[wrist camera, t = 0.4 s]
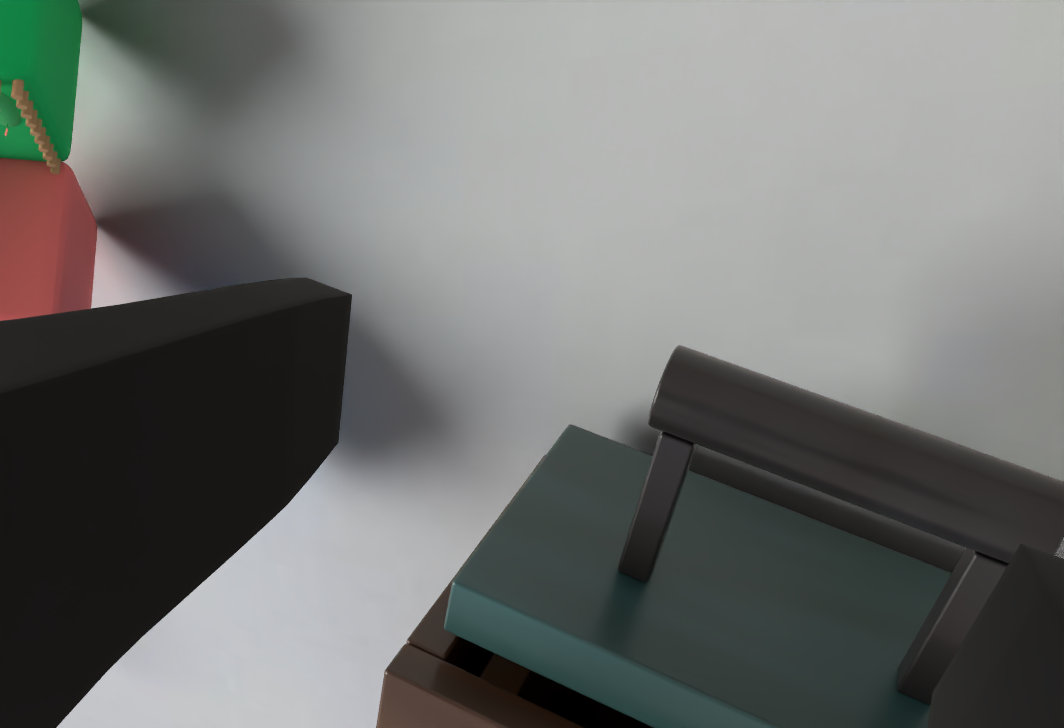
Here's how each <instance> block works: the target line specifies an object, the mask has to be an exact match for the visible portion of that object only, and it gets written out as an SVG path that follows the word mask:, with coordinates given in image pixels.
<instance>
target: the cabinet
mask: <svg viewBox="0 0 1064 728" xmlns="http://www.w3.org/2000/svg"><path fill="white" fill-rule="evenodd" d="M545 456H546V455H545ZM545 456H544V457H543V458H542V460H543V459H544V458H545ZM542 460H541V461H540V462H539V464H540V463H541V462H542ZM539 464H538V465H537V466H536V468H537V467H538V466H539ZM536 468H535V469H534V470H533V472H534V471H535V470H536ZM533 472H532V473H531V474H530V476H531V475H532V474H533ZM530 476H529V477H528V478H527V480H528V479H529V478H530ZM527 480H526V481H525V482H524V484H525V483H526V482H527ZM524 484H523V485H522V486H521V488H522V487H523V486H524ZM521 488H520V489H519V491H520V490H521ZM519 491H518V492H517V493H516V495H517V494H518V493H519ZM516 495H515V496H514V497H513V499H514V498H515V497H516ZM513 499H512V500H511V501H510V503H511V502H512V501H513ZM510 503H509V504H508V505H507V507H508V506H509V505H510ZM507 507H506V508H505V509H504V511H505V510H506V509H507ZM504 511H503V512H502V513H501V515H502V514H503V513H504ZM501 515H500V516H499V517H498V519H499V518H500V517H501ZM498 519H497V520H496V521H495V523H496V522H497V521H498ZM495 523H494V524H493V525H492V527H491V528H490V529H489V531H488V532H487V533H486V535H485V536H484V537H483V539H482V540H481V542H482V541H483V540H484V538H485V537H486V536H487V534H488V533H489V532H490V530H491V529H492V528H493V526H494V525H495ZM481 542H480V543H479V544H478V546H479V545H480V544H481ZM478 546H477V547H476V548H475V550H476V549H477V548H478ZM475 550H474V551H473V552H472V554H473V553H474V552H475ZM472 554H471V555H470V556H469V558H470V557H471V556H472ZM469 558H468V559H467V560H466V562H465V563H464V564H463V566H462V567H461V568H460V570H459V571H458V572H457V574H456V575H455V576H454V578H453V579H452V580H451V582H450V583H449V584H448V586H447V587H446V588H445V590H444V591H443V592H442V594H441V595H440V597H439V598H438V599H437V601H436V602H435V603H434V605H433V606H432V607H431V609H430V610H429V611H428V613H427V614H426V615H425V617H424V618H423V619H422V621H421V622H420V623H419V625H418V626H417V627H416V629H415V630H414V631H413V633H412V634H411V635H410V637H409V638H408V639H407V644H405V645H404V646H403V647H402V648H401V650H400V651H399V652H398V654H397V655H396V656H395V658H394V659H393V660H392V662H391V663H390V664H389V666H388V667H387V668H386V670H385V673H384V680H383V686H382V693H381V700H380V706H379V713H378V720H377V726H376V728H584V727H582V726H580V725H578V724H576V723H574V722H572V721H569V720H567V719H565V718H563V717H561V716H559V715H557V714H555V713H553V712H551V711H549V710H546V709H544V708H542V707H540V706H538V705H536V704H534V703H532V702H530V701H528V700H526V699H523V698H521V697H519V696H517V695H515V694H513V693H511V692H509V691H507V690H505V689H502V688H500V687H498V686H496V685H494V684H492V683H490V682H488V681H486V680H484V679H482V678H479V676H480V675H481V673H482V671H483V670H484V668H485V666H486V665H487V663H488V662H489V660H490V658H491V657H492V655H493V652H491V651H489V650H487V649H484V648H482V647H480V646H478V645H476V644H474V643H472V642H470V641H467V640H465V639H463V638H461V637H459V636H457V635H455V634H452V633H450V632H448V631H446V630H445V629H444V623H445V617H446V612H447V607H448V602H449V596H450V591H451V586H452V581H453V580H454V579H455V577H456V576H457V575H458V573H459V572H460V571H461V569H462V568H463V567H464V565H465V564H466V563H467V561H468V560H469Z"/></svg>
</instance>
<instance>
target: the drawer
mask: <svg viewBox="0 0 1064 728" xmlns="http://www.w3.org/2000/svg"><path fill="white" fill-rule="evenodd" d="M649 425H650V426H651V427H653V428H656V429H659V430H661V432H660V434H659V437H658V440H657V443H656V446H655V449H654V453H653V456H651V455H649V454H646V453H643V452H641V451H638V450H636V449H633V448H631V447H628V446H626V445H623V444H620V443H618V442H615V441H613V440H610V439H608V438H605V437H603V436H600V435H597V434H595V433H592V432H590V431H587V430H585V429H582V428H579V427H577V426H574V425H568V427H567V428H566V429H565V431H564V432H563V433H562V435H561V436H560V437H559V439H558V440H557V441H556V443H555V444H554V445H553V447H552V448H551V449H550V451H549V452H548V453H547V455H546V456H545V458H544V459H543V460H542V462H541V463H540V464H539V466H538V467H537V468H536V470H535V471H534V472H533V474H532V475H531V476H530V478H529V479H528V480H527V482H526V483H525V484H524V486H523V487H522V488H521V490H520V491H519V493H518V494H517V495H516V497H515V498H514V499H513V501H512V502H511V503H510V505H509V506H508V507H507V509H506V510H505V511H504V513H503V514H502V515H501V517H500V518H499V519H498V521H497V522H496V523H495V525H494V526H493V528H492V529H491V530H490V532H489V533H488V534H487V536H486V537H485V538H484V540H483V541H482V542H481V544H480V545H479V546H478V548H477V549H476V550H475V552H474V553H473V554H472V556H471V557H470V558H469V560H468V561H467V563H466V564H465V565H464V567H463V568H462V569H461V571H460V572H459V573H458V575H457V576H456V577H455V579H454V580H453V581H452V586H451V591H450V596H449V602H448V607H447V612H446V617H445V623H444V629H445V630H446V631H448V632H450V633H452V634H455V635H457V636H459V637H461V638H463V639H465V640H467V641H470V642H472V643H474V644H476V645H478V646H480V647H482V648H484V649H487V650H489V651H491V652H493V655H492V657H491V658H490V660H489V662H488V663H487V665H486V666H485V668H484V670H483V671H482V673H481V675H480V676H479V678H482V679H484V680H486V681H488V682H490V683H492V684H494V685H496V686H498V687H500V688H502V689H505V690H507V691H509V692H511V693H513V694H515V695H517V696H519V697H521V698H523V699H526V700H528V701H530V702H532V703H534V704H536V705H538V706H540V707H542V708H544V709H546V710H549V711H551V712H553V713H555V714H557V715H559V716H561V717H563V718H565V719H567V720H569V721H572V722H574V723H576V724H578V725H580V726H582V727H584V728H927V726H928V719H929V712H930V706H931V699H932V693H933V691H934V689H935V687H936V686H937V684H938V682H939V681H940V679H941V677H942V676H943V674H944V672H945V670H946V669H947V667H948V665H949V664H950V662H951V660H952V659H953V657H954V655H955V654H956V652H957V650H958V649H959V647H960V645H961V644H962V642H963V640H964V639H965V637H966V635H967V633H968V632H969V630H970V628H971V627H972V625H973V623H974V622H975V620H976V618H977V617H978V615H979V613H980V612H981V610H982V608H983V607H984V605H985V603H986V601H987V600H988V598H989V596H990V595H991V593H992V591H993V590H994V588H995V586H996V585H997V583H998V581H999V580H1000V578H1001V576H1002V575H1003V573H1004V571H1005V569H1006V568H1007V566H1008V564H1009V563H1010V561H1011V559H1012V558H1013V556H1014V554H1015V553H1016V551H1017V549H1018V548H1019V546H1020V544H1024V545H1027V546H1029V547H1032V548H1035V549H1037V550H1040V551H1043V552H1045V553H1048V554H1051V555H1053V556H1054V555H1055V553H1056V552H1057V550H1058V548H1059V546H1060V544H1061V542H1062V540H1063V538H1064V482H1063V481H1060V480H1057V479H1054V478H1052V477H1049V476H1046V475H1043V474H1040V473H1038V472H1035V471H1032V470H1029V469H1026V468H1024V467H1021V466H1018V465H1015V464H1012V463H1009V462H1007V461H1004V460H1001V459H998V458H995V457H993V456H990V455H987V454H984V453H981V452H979V451H976V450H973V449H970V448H967V447H965V446H962V445H959V444H956V443H953V442H951V441H948V440H945V439H942V438H939V437H937V436H934V435H931V434H928V433H925V432H923V431H920V430H917V429H914V428H911V427H909V426H906V425H903V424H900V423H897V422H894V421H892V420H889V419H886V418H883V417H880V416H878V415H875V414H872V413H869V412H866V411H864V410H861V409H858V408H855V407H852V406H850V405H847V404H844V403H841V402H838V401H836V400H833V399H830V398H827V397H824V396H822V395H819V394H816V393H813V392H810V391H808V390H805V389H802V388H799V387H796V386H793V385H791V384H788V383H785V382H782V381H779V380H777V379H774V378H771V377H768V376H765V375H763V374H760V373H757V372H754V371H751V370H749V369H746V368H743V367H740V366H737V365H735V364H732V363H729V362H726V361H723V360H721V359H718V358H715V357H712V356H709V355H707V354H704V353H701V352H698V351H695V350H693V349H690V348H687V347H684V346H681V345H679V346H677V347H676V348H675V350H674V351H673V353H672V355H671V357H670V359H669V361H668V363H667V365H666V367H665V370H664V372H663V375H662V377H661V380H660V382H659V385H658V388H657V391H656V393H655V396H654V399H653V403H652V406H651V410H650V414H649ZM697 444H698V445H700V446H703V447H706V448H708V449H711V450H713V451H716V452H719V453H721V454H724V455H727V456H729V457H732V458H734V459H737V460H740V461H742V462H745V463H747V464H750V465H753V466H755V467H758V468H761V469H763V470H766V471H768V472H771V473H774V474H776V475H779V476H781V477H784V478H787V479H789V480H792V481H794V482H797V483H800V484H802V485H805V486H808V487H810V488H813V489H815V490H818V491H821V492H823V493H826V494H828V495H831V496H834V497H836V498H839V499H842V500H844V501H847V502H849V503H852V504H855V505H857V506H860V507H862V508H865V509H868V510H870V511H873V512H875V513H878V514H881V515H883V516H886V517H889V518H891V519H894V520H896V521H899V522H902V523H904V524H907V525H909V526H912V527H915V528H917V529H920V530H923V531H925V532H928V533H930V534H933V535H936V536H938V537H941V538H943V539H946V540H949V541H951V542H954V543H956V544H959V545H962V546H964V547H966V549H965V550H964V552H963V554H962V556H961V557H960V559H959V561H958V563H957V564H956V566H955V568H954V570H953V572H952V573H950V572H948V571H945V570H943V569H940V568H938V567H935V566H932V565H930V564H927V563H925V562H922V561H920V560H917V559H915V558H912V557H909V556H907V555H904V554H902V553H899V552H897V551H894V550H892V549H889V548H886V547H884V546H881V545H879V544H876V543H874V542H871V541H869V540H866V539H863V538H861V537H858V536H856V535H853V534H851V533H848V532H845V531H843V530H840V529H838V528H835V527H833V526H830V525H828V524H825V523H822V522H820V521H817V520H815V519H812V518H810V517H807V516H805V515H802V514H799V513H797V512H794V511H792V510H789V509H787V508H784V507H782V506H779V505H776V504H774V503H771V502H769V501H766V500H764V499H761V498H759V497H756V496H753V495H751V494H748V493H746V492H743V491H741V490H738V489H736V488H733V487H730V486H728V485H725V484H723V483H720V482H718V481H715V480H712V479H710V478H707V477H705V476H702V475H700V474H697V473H695V472H692V471H689V467H690V464H691V461H692V458H693V455H694V452H695V449H696V446H697Z"/></svg>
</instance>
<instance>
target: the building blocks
mask: <svg viewBox="0 0 1064 728" xmlns="http://www.w3.org/2000/svg"><path fill="white" fill-rule="evenodd" d="M81 32H82V13H81V9H80V5H79V2H78V0H0V321H3V320H12V319H20V318H27V317H34V316H41V315H49V314H56V313H63V312H70V311H77V310H85V309H91V302H92V289H93V277H94V265H95V253H96V241H97V225H96V221H95V218H94V216H93V214H92V212H91V209H90V207H89V205H88V203H87V201H86V199H85V196H84V194H83V192H82V190H81V188H80V186H79V183H78V181H77V179H76V177H75V175H74V173H73V171H72V169H71V168H70V167H69V166H68V165H67V164H66V163H64V162H61V161H65V160H66V159H67V158H68V156H69V154H70V149H71V142H72V131H73V120H74V109H75V98H76V87H77V76H78V65H79V54H80V43H81Z"/></svg>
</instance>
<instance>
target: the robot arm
mask: <svg viewBox="0 0 1064 728" xmlns="http://www.w3.org/2000/svg"><path fill="white" fill-rule="evenodd" d="M351 300H352V295H351V294H349V293H346V292H343V291H341V290H338V289H335V288H333V287H330V286H327V285H325V284H322V283H319V282H316V281H314V280H311V279H308V278H289V279H277V280H269V281H261V282H254V283H247V284H240V285H234V286H228V287H222V288H216V289H210V290H204V291H198V292H192V293H186V294H180V295H174V296H168V297H162V298H156V299H150V300H144V301H138V302H132V303H126V304H120V305H114V306H106V307H99V308H92V309H85V310H77V311H70V312H63V313H56V314H49V315H41V316H34V317H27V318H20V319H12V320H3V321H0V728H56V727H57V726H58V725H59V724H60V723H61V722H62V720H63V719H64V718H65V717H66V716H67V715H68V714H69V713H70V712H71V711H72V709H73V708H74V707H75V706H76V705H77V704H78V703H79V702H80V701H81V700H82V698H83V697H84V696H85V695H86V694H87V693H88V692H89V691H90V690H91V688H92V687H93V686H94V685H95V684H96V683H97V682H98V681H99V680H100V679H101V677H102V676H103V675H104V674H105V673H106V672H107V671H108V670H109V669H110V668H111V667H112V666H113V665H114V664H115V663H116V662H117V661H118V660H119V659H120V658H121V657H122V656H123V655H124V654H125V653H126V652H127V651H128V650H129V649H130V648H131V647H132V646H133V645H134V644H135V643H136V642H137V641H138V640H139V639H140V638H141V637H142V636H143V635H145V634H146V633H147V632H148V631H149V630H150V629H151V628H152V627H153V626H155V625H156V624H157V623H158V622H159V621H160V620H161V619H162V618H163V617H165V616H166V615H167V614H168V613H169V612H170V611H171V610H172V609H173V608H175V607H176V606H177V605H178V604H179V603H180V602H181V601H182V600H183V599H185V598H186V597H187V596H188V595H189V594H190V593H191V592H192V591H193V590H195V589H196V588H197V587H198V586H199V585H200V584H201V583H202V582H204V581H205V580H206V579H207V578H208V577H209V576H210V575H211V574H212V573H214V572H215V571H216V570H217V569H218V568H219V567H220V566H221V565H222V564H224V563H225V562H226V561H227V560H228V559H229V558H230V557H231V556H232V555H234V554H235V553H236V552H237V551H238V550H239V549H240V548H241V547H242V546H243V545H245V544H246V543H247V542H248V541H249V540H250V539H251V538H252V537H253V536H254V535H255V534H256V533H258V532H259V531H260V530H261V529H262V528H263V527H264V526H265V525H266V524H267V523H268V522H270V521H271V520H272V519H273V518H274V517H275V516H276V515H277V514H278V513H279V512H280V511H281V510H282V509H283V508H284V507H285V506H286V505H287V504H288V503H289V502H290V501H291V500H292V499H293V497H294V496H295V495H296V494H297V493H298V492H299V490H300V489H301V488H302V487H303V486H304V485H305V483H306V482H307V481H308V480H309V479H310V478H311V476H312V475H313V474H314V473H315V471H316V470H317V469H318V468H319V466H320V465H321V464H322V463H323V461H324V460H325V459H326V458H327V456H328V455H329V454H330V453H331V451H332V450H333V449H334V447H335V446H336V445H337V444H338V441H339V430H340V419H341V408H342V398H343V387H344V376H345V365H346V354H347V343H348V332H349V321H350V311H351ZM927 728H1064V559H1062V558H1059V557H1056V556H1053V555H1051V554H1048V553H1045V552H1043V551H1040V550H1037V549H1035V548H1032V547H1029V546H1027V545H1024V544H1020V546H1019V548H1018V549H1017V551H1016V553H1015V554H1014V556H1013V558H1012V559H1011V561H1010V563H1009V564H1008V566H1007V568H1006V569H1005V571H1004V573H1003V575H1002V576H1001V578H1000V580H999V581H998V583H997V585H996V586H995V588H994V590H993V591H992V593H991V595H990V596H989V598H988V600H987V601H986V603H985V605H984V607H983V608H982V610H981V612H980V613H979V615H978V617H977V618H976V620H975V622H974V623H973V625H972V627H971V628H970V630H969V632H968V633H967V635H966V637H965V639H964V640H963V642H962V644H961V645H960V647H959V649H958V650H957V652H956V654H955V655H954V657H953V659H952V660H951V662H950V664H949V665H948V667H947V669H946V670H945V672H944V674H943V676H942V677H941V679H940V681H939V682H938V684H937V686H936V687H935V689H934V691H933V693H932V699H931V706H930V712H929V719H928V726H927Z"/></svg>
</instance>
